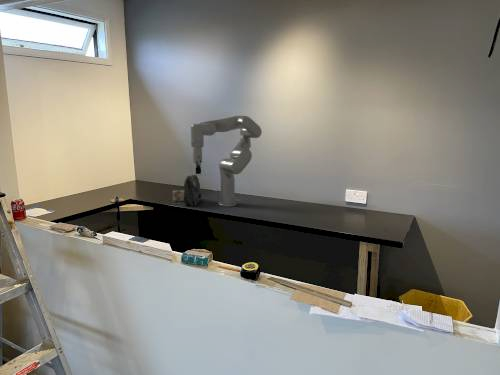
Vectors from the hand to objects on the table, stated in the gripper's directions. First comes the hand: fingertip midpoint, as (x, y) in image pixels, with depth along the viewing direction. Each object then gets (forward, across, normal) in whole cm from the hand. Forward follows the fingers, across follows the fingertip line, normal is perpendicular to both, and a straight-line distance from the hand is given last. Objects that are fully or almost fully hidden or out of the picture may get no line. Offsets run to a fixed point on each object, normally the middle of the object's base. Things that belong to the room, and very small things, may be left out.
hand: (198, 173), depth 218 cm
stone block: (+24, -18, -2) cm, 31 cm away
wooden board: (+24, -29, -6) cm, 38 cm away
